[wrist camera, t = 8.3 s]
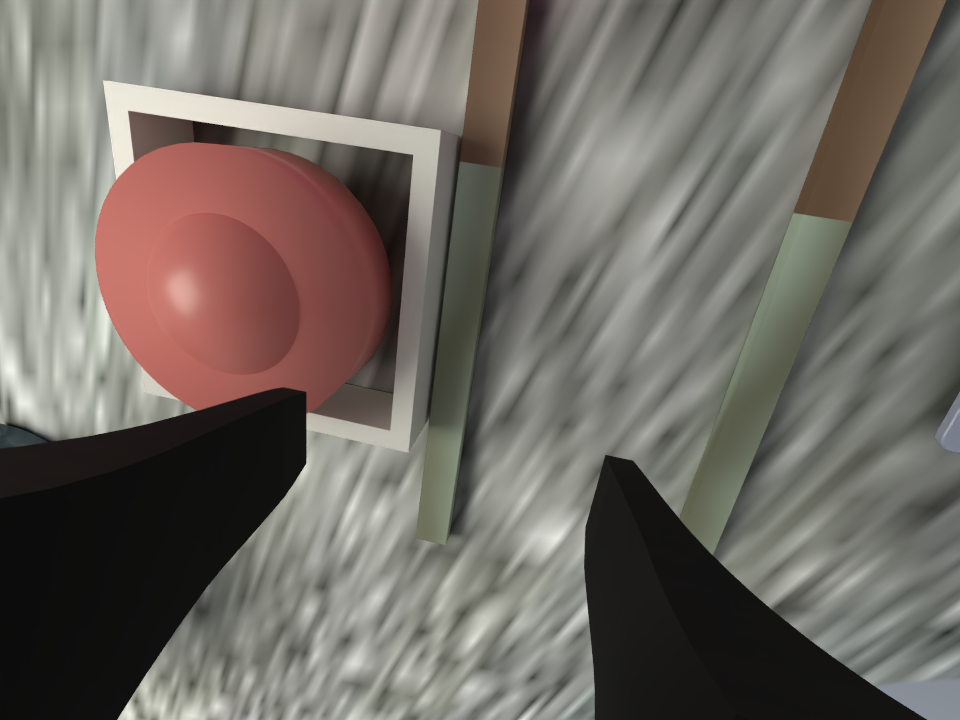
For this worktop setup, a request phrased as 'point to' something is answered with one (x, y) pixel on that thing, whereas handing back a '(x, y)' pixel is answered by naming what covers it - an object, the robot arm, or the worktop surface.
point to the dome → (241, 273)
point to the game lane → (789, 291)
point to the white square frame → (401, 416)
